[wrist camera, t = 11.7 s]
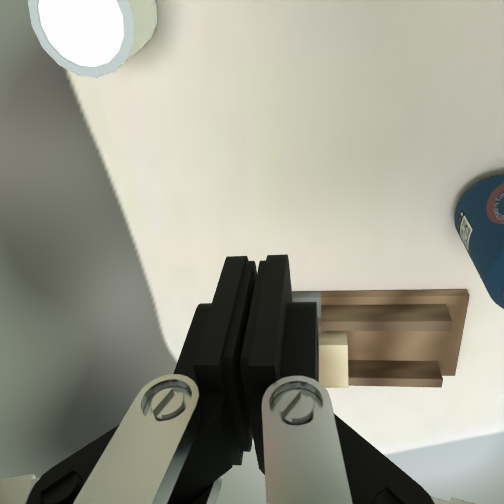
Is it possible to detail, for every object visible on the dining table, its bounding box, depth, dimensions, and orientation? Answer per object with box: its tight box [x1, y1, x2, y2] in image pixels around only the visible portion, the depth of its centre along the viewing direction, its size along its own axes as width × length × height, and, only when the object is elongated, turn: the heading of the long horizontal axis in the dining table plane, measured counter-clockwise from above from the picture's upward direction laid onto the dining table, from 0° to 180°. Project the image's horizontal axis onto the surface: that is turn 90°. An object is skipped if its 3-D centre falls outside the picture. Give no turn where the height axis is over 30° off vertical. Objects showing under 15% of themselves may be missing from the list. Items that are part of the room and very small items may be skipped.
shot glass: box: [28, 0, 157, 78], centre depth 31 cm, size 7×7×7 cm
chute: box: [292, 289, 469, 387], centre depth 47 cm, size 23×11×4 cm, turn 97°
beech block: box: [318, 318, 348, 388], centre depth 47 cm, size 6×6×4 cm
